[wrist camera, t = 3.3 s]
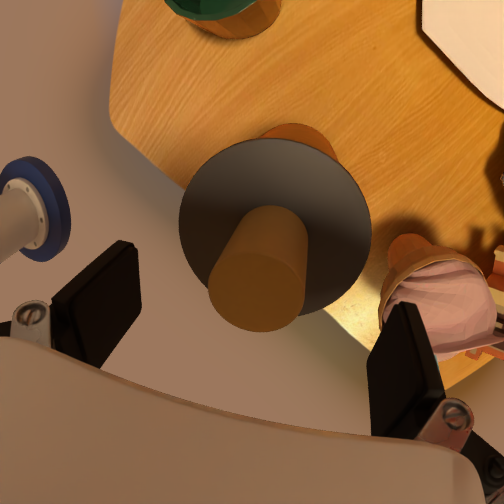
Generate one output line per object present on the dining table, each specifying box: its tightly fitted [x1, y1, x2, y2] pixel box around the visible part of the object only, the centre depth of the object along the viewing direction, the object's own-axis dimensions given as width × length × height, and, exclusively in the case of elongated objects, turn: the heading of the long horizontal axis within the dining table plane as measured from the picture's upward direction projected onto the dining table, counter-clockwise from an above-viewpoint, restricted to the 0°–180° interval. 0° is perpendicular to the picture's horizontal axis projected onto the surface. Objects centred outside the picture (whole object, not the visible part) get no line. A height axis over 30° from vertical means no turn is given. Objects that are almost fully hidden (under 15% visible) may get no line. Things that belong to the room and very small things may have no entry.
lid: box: [179, 137, 372, 332], centre depth 14 cm, size 10×10×6 cm
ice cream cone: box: [378, 233, 504, 372], centre depth 26 cm, size 11×11×20 cm
